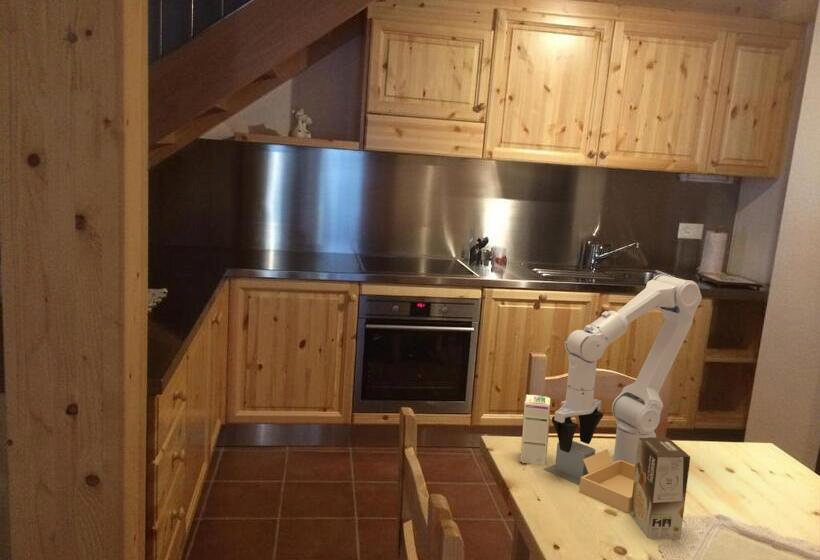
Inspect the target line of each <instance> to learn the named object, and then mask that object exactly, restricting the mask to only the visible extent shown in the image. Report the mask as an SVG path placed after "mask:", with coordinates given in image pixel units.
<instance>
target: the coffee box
mask: <svg viewBox="0 0 820 560" xmlns="http://www.w3.org/2000/svg"><path fill="white" fill-rule="evenodd" d="M690 463H691V456H690V455H689V454H688V453H687V452H685V451H684V450H683V449H682V448H681V447H679V446H678V445H677V444H676V443H675V442H674V441H673V440H672V439H671V438H669V437H658V436H656V437H648V438H638V445H637V455H636V464H635V474H634V483H633V493H632V503H631V512H629V514H630V517H631V518H632V519H633V522H635V523H636V525H637V526H638V527H639V528H640V530H641V531H642V532H643V534H644V535H645V536H646V537H647V538H648V539H650V540H680V539H681V537H682V528H683V522H684V521H683V519H684V512H685V505H686V496H687V487H688V477H689V471H690V465H691V464H690Z"/></svg>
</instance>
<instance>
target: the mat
mask: <svg viewBox="0 0 820 560" xmlns="http://www.w3.org/2000/svg"><path fill="white" fill-rule="evenodd" d="M542 470H543V471H546V472H548V473H550V474H552V475H555V476H556V477H559V478H561V479H563V480H566V481H568V482H570V483H573V484H575V485H576V486H577V485H579V486H580V479H578V478H575V477H573V476H571V475H568V474H566V473H564V472H561V471H559V470H557V469H555V464H552V465H550V466H548V467H546V468H543V469H542Z"/></svg>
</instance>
